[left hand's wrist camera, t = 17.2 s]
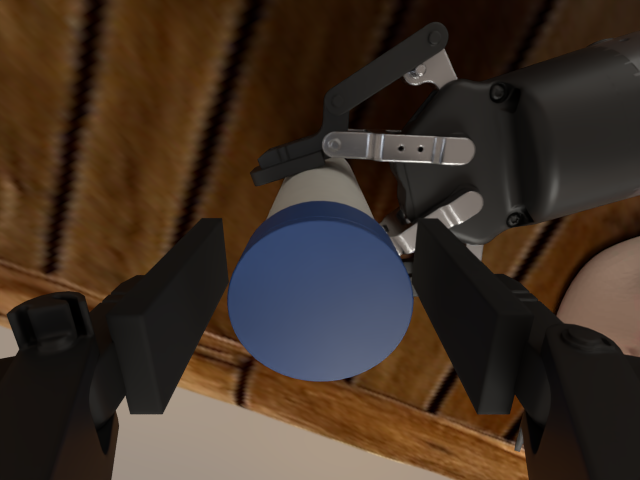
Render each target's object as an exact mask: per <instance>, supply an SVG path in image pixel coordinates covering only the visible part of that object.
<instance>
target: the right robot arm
mask: <svg viewBox="0 0 640 480" xmlns="http://www.w3.org/2000/svg"><path fill="white" fill-rule="evenodd" d="M447 42H448V31H447V29H446V27H445V26H444V25H443V24H441V23H439V22H432V23H430V24H428V25H426V26H425V27H423V28H422V29H420V30H419V31H417V32H416V33H414V34H413V35H411V36H410V37H408V38H407V39H405V40H404V41H402V42H401V43H399V44H398V45H396V46H395V47H393V48H392V49H390V50H389V51H387V52H386V53H384V54H383V55H381V56H380V57H378V58H377V59H375V60H374V61H372V62H371V63H369V64H368V65H366V66H365V67H363V68H362V69H360V70H359V71H357V72H356V73H354V74H353V75H351V76H350V77H348V78H347V79H345V80H344V81H342V82H341V83H339V84H337V85H336V86H334V87H333V88H331V89H330V90H329V91H328V92H327V93H326V95H325V97H324V106H323V123H322V126H321V128H320V130H319V131H318V132H317V133H315V134H313V135H310V136H307V137H304V138H301V139H298V140H295V141H292V142H289V143H286V144H283V145H280V146H276V147H273V148H270V149H269V150H267V151H266V152H265V153H264V154H263V155H262V156H261V157H260V158H259V159H258V162H259V165H260V166H257V167H255V168H254V169H253V170H252V171H251V172H250V174H251V177H252V179H253V182H254V185H255V186H260V185H263V184H267V183H270V182H273V181H276V180H279V179H283V178H286V177H289V176H292V175H295V174H299V173H301V172H304V171H307V170H311V169H315V168H318V167H321V166H324V165H325V160H326V159H329V158H349V159H370V160H374V161H386V162H389V164H390V168H391V171H392V172H393V174H394V176H395V178H396V179H397V181H398V192H397V197H398V201H399V205H400V206H399V207H398V208H396V209H395V210H393V211H392V212H390V213H389V214H388V215H386V216H385V217H384V219H383V221H382V222H381V223H380V224H379V225H380V226H382V228H383V229H384V230H385V231H386V233H387V234H388V235H389V237H390V239H391V241H392V242H393V244H394V246H395V248H396V250H397V252H398V254H399V255H401V254H410V253H412V252H414V251H415V243H416V233H417V223H418V218H438V219H439V220H440V221H441V222H442V223H443V224H444V225H445V226H446V227H447V228H448V229H449V230H450V231H451V232H452V233H453V234H454V235H455V236H456V237H457V238H458V239H459V240H460V241H461V242H462V243H463V244H464V245H465V246H466V247H467V248H468V249H469V250H470V251H471V252H472V253H473V254H474V255H475V256H476V257H477V258H478V259H479V260H480V261H481V260H482V252H483V244H486V243H488V242H490V241H491V240H492V239H494V238H495V237H496V236H497V235H499V234H500V233H501V232H503V231H505V230H507V229H509V228H513V227H519V226H526V225H532V224H537V223H541V222H544V221H548V220H552V219H555V218H559V217H562V216H566V215H570V214H573V213H577V212H580V211H584V210H588V209H591V208H595V207H598V206H602V205H606V204H609V203H613V202H616V201H620V200H623V199H627V198H631V197H634V196H638V195H640V30H639V31H636V32H633V33H630V34H627V35H623V36H620V37H617V38H610V39H603V40H600V41H598V42H595V43H593V44H591V45H589V46H587V47H586V48H583V49H580V50H577V51H574V52H571V53H568V54H565V55H562V56H559V57H556V58H552V59H549V60H546V61H543V62H540V63H537V64H534V65H531V66H528V67H525V68H522V69H519V70H515V71H512V72H509V73H506V74H503V75H500V76H497V77H494V78H491V79H488V80H484V81H480V82H478V81H472V80H468V79H457V77H456V74H455V72H454V70H453V68H452V65H451V63H450V61H449V58H448V56H447V54H446V51H445V49H444V48H445V46H446V44H447ZM399 78H400V79H401V81H402V82H403V83H404V84H405V85H407V86H416V85H420V84H422V83H426V84H429V85H430V86H431V87H432V88H433V91H432V92H431V94H430V95H429V96H428V97H427V99H426V100H425V101H424V103H423V104H422V105H421V106H420V108H419V109H418V110H417V111H416V113H415V114H414V115H413V116H412V118H411V119H410V120H409V121H408V123H407V124H406V125H405V126H404V128H403V129H402V130H392V129H351V128H348V123H349V110H350V109H352V108H354V107H355V106H357V105H358V104H360V103H361V102H363V101H364V100H366V99H368V98H369V97H371V96H372V95H374V94H375V93H377V92H378V91H380V90H382V89H383V88H385V87H386V86H388V85H389V84H391V83H392V82H394V81H396V80H397V79H399ZM401 260H402V262H403V264H404V266H405V268H406V270H407V272H408V275H409V277H410V280H411V281H412V272H413V262H414V258H408V259H401ZM411 285H412V283H411ZM412 289H413V297H414V296H418V295H417V293H416V291H415V289H414V287H413V285H412Z"/></svg>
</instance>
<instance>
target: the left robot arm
mask: <svg viewBox="0 0 640 480" xmlns="http://www.w3.org/2000/svg"><path fill="white" fill-rule="evenodd" d="M228 283H229V281H228V272H227V262H226V252H225V243H224V233H223V223H222V218H202V219H201V220H200V221H199V222H198V223H197V224H196V225H195V226H194V227H193V228H192V229H191V230H190V231H189V232H188V233H187V234H186V235H185V236H184V237H183V238H182V239H181V240H180V241H179V242H178V243H177V244H176V245H175V246H174V247H173V248H172V249H171V250H170V251H169V252H168V253H167V254H166V255H165V256H164V257H163V258H162V259H161V260H160V261H159V262H158V263H157V264H156V265H155V266H154V267H153V268H152V269H151V270H150V271H149V272H148V273H147V274H146V275H136V276H134V277H132V278H131V279H129V280H127V281H125V282H123V283H121V284H120V285H119V286H118V287H117V288H116V289H115V290H113V291H112V292H111V295H108V296H107V297H106V298H105V299H104V300H103V301H102V303H99V304H98V305H97V306H96V307H95V308H94V309H93V310H92V311H91V312H90V313H89V310H88V307H87V303H86V299H85V296H84V295H82V294H80V293H78V292H70V291H67V292H55V293H51V294H46V295H42V296H39V297H36V298H33V299H30V300H28V301H26V302H24V303H22V304H20V305H18V306H16V307H14V308H13V309H12V310H11V311H10V312H9V313H8V314H7V317H8V320H9V322H10V325H11V328H12V331H13V333H14V336H15V339H16V341H17V344H18V347H19V351H18V353H17V354H16V356H13V357H8V358H2V359H0V480H111V478H112V471H113V464H114V457H115V450H116V443H117V436H118V429H119V423H118V417H117V414H116V409H117V408H118V406H119V404H120V403H121V401H122V400H123V398H124V397H125V395H126V399H127V403H128V407H129V411H130V414H163V412H164V410H165V408H166V406H167V404H168V402H169V400H170V398H171V396H172V394H173V392H174V390H175V388H176V386H177V384H178V382H179V380H180V378H181V376H182V374H183V372H184V370H185V368H186V366H187V364H188V362H189V360H190V358H191V356H192V354H193V352H194V350H195V348H196V346H197V344H198V342H199V340H200V339H201V337H202V335H203V333H204V331H205V329H206V327H207V325H208V323H209V321H210V319H211V317H212V315H213V313H214V311H215V309H216V307H217V305H218V303H219V301H220V299H221V297H222V295H223V293H224V291H225V289H226V287H227V285H228ZM411 283H412V285H413V287H414V289H415V291H416V293H417V295H418V297H419V299H420V301H421V303H422V305H423V307H424V309H425V311H426V313H427V315H428V317H429V319H430V321H431V323H432V325H433V327H434V329H435V331H436V333H437V335H438V337H439V339H440V340H441V342H442V344H443V346H444V348H445V350H446V352H447V354H448V356H449V358H450V360H451V362H452V364H453V366H454V368H455V370H456V372H457V374H458V376H459V378H460V380H461V382H462V384H463V386H464V388H465V390H466V392H467V394H468V396H469V398H470V400H471V402H472V404H473V406H474V408H475V410H476V412H477V414H510V411H511V407H512V403H513V399H514V395H516V396H517V398H518V400H519V401H520V403H521V404H522V406H523V407H524V409H525V410H524V414H523V417H522V421H521V425H520V428H519V432H518V436H517V439H516V443H515V451H519V452H520V450H521V446H522V444H523V443H524V449H525V456H526V463H527V470H528V477H529V480H640V357H636V356H631V355H625V354H623V352H622V350H621V349H620V348H619V346H618V345H617V344H616V343H615V342H614V341H613V340H611V339H610V338H608V337H606V336H605V335H603V334H602V333H599V332H597V331H594V330H592V329H590V328H587V327H583V326H579V325H575V324H567V323H563V322H562V321H561V320H560V319H559V318H558V317H557V316H556V315H555V314H553V313H552V312H551V311H550V310H549V309H548V308H547V307H546V306H545V305H544V304H542V303H541V302H540V301H538V299H537V298H536V297H535V296H534V295H533V294H532V293H529V291H528V290H527V289H526V288H525V287H524V286H523V285H522V284H521V283H520V282H518V281H516V280H514V279H512V278H510V277H508V276H506V275H504V274H493V273H492V272H491V271H490V270H489V269H488V268H487V267H486V266H485V265H484V264H483V263H482V262H481V261H480V260H479V259H478V258H477V257H476V256H475V255H474V254H473V253H472V252H471V251H470V250H469V249H468V248H467V247H466V246H465V245H464V244H463V243H462V242H461V241H460V240H459V239H458V238H457V237H456V236H455V235H454V234H453V233H452V232H451V231H450V230H449V229H448V228H447V227H446V226H445V225H444V224H443V223H442V222H441V221H440V220H439V219H438V218H418V223H417V233H416V243H415V252H414V262H413V272H412V281H411Z"/></svg>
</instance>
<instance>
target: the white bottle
mask: <svg viewBox="0 0 640 480" xmlns="http://www.w3.org/2000/svg"><path fill="white" fill-rule="evenodd" d="M309 201H332V202H338V203H342V204H346V205H349V206H351V207H354V208H357V209H358V210H360V211H362V212H364V213H366V214H367V215H369V216H370V217H371V218H373V216H372V213H371V211H370V209H369V207H368V205H367V202H366V200H365V198H364V196H363V193H362V191H361V189H360V187H359V185H358V182H357V180H356V178H355V176H354V174H353V171H352V169H351V167H350V165H349V164H348V162H347V161H346V160H345V159H344V158H329V159H326V160H325V165H324V166H321V167H318V168H315V169H311V170H307V171H304V172H301V173H299V174H295V175H292V176H289V177H286V178H285V179H284V182H283V184H282V186H281V188H280V190H279V193H278V195H277V197H276V199H275V202H274V204H273V206H272V208H271V210H270V213H269V215H268V217H267V219H268V218H269V217H271V216H272V215H274V214H275V213H277V212H278V211H280V210H282V209H285V208H287V207H289V206H292V205H295V204H299V203H303V202H309ZM267 219H266V220H267ZM373 219H374V218H373Z"/></svg>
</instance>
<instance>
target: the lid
mask: <svg viewBox="0 0 640 480" xmlns="http://www.w3.org/2000/svg"><path fill="white" fill-rule="evenodd" d="M227 305H228V312H229V317H230V321H231V324H232V327H233V329H234V331H235V333H236V335H237V337H238V339H239V340H240V342H241V343H242V345H243V346H244V347H245V348H246V349H247V351H248V352H249V353H250V354H251V355H252V356H253V357H255V358H256V359H257V360H258V361H260V362H261V363H262V364H264V365H265V366H267V367H269V368H270V369H272V370H274V371H276V372H278V373H281V374H283V375H286V376H289V377H292V378H296V379H301V380H307V381H333V380H340V379H344V378H349V377H352V376H355V375H358V374H360V373H363V372H365V371H367V370H369V369H371V368H372V367H374V366H376V365H377V364H379V363H380V362H381V361H383V360H384V359H385V358H386V357H388V356H389V354H390V353H391V352H392V351H393V350H394V349H395V348H396V347H397V345H398V344H399V343H400V341H401V340H402V338H403V336H404V335H405V333H406V331H407V328H408V326H409V323H410V320H411V316H412V311H413V289H412V285H411V280H410V277H409V275H408V272H407V270H406V268H405V266H404V264H403V262H402V260H401V258H400V256H399V254H398V252H397V250H396V248H395V246H394V244H393V242H392V241H391V239H390V237H389V235H388V234H387V233H386V231H385V230H384V229H383V228H382V226H380V225H379V224H378V223H377V222H376V221H375V220H374V219H373V218H371V217H370V216H369V215H367V214H366V213H364V212H362V211H360V210H358V209H357V208H354V207H351V206H349V205H346V204H342V203H338V202H332V201H309V202H303V203H299V204H295V205H292V206H289V207H287V208H285V209H282V210H280V211H278V212H277V213H275V214H274V215H272V216H271V217H269V218H268V219H267V220H266V221H264V222H263V223H262V224H261V225H260V226H259V227H258V229H257V230H256V231H255V232H254V234H253V235H252V237H251V238H250V240H249V242H248V244H247V246H246V248H245V250H244V252H243V254H242V256H241V258H240V260H239V262H238V264H237V266H236V268H235V270H234V272H233V274H232V277H231V280H230V283H229V289H228V302H227Z"/></svg>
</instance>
